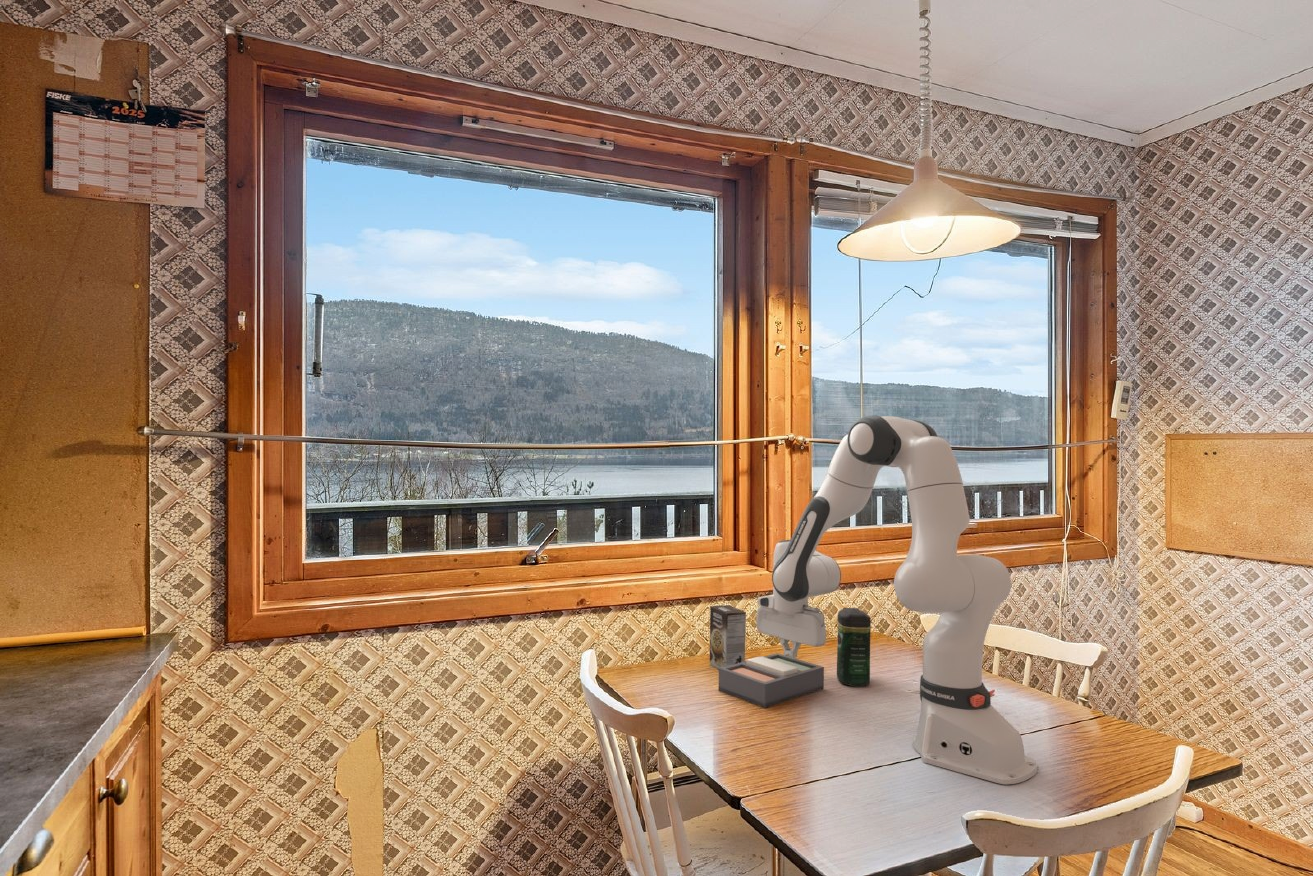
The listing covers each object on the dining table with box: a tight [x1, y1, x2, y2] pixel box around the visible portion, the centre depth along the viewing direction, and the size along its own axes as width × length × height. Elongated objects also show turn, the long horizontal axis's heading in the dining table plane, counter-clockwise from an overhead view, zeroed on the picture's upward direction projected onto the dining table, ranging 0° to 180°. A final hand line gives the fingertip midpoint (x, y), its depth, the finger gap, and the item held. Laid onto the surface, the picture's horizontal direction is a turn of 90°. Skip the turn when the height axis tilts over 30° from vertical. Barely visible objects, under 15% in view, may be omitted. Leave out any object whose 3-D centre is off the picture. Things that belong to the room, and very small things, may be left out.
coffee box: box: [709, 604, 747, 670], centre depth 199 cm, size 9×6×16 cm
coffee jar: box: [836, 607, 872, 687], centre depth 189 cm, size 10×8×19 cm
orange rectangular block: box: [731, 668, 775, 682], centre depth 177 cm, size 12×5×3 cm, turn 40°
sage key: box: [772, 658, 811, 671], centre depth 186 cm, size 12×5×3 cm, turn 40°
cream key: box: [746, 655, 798, 676], centre depth 181 cm, size 12×5×3 cm, turn 40°
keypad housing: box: [718, 652, 825, 709], centre depth 181 cm, size 15×22×6 cm
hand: (790, 657), depth 185 cm, fingers closed
